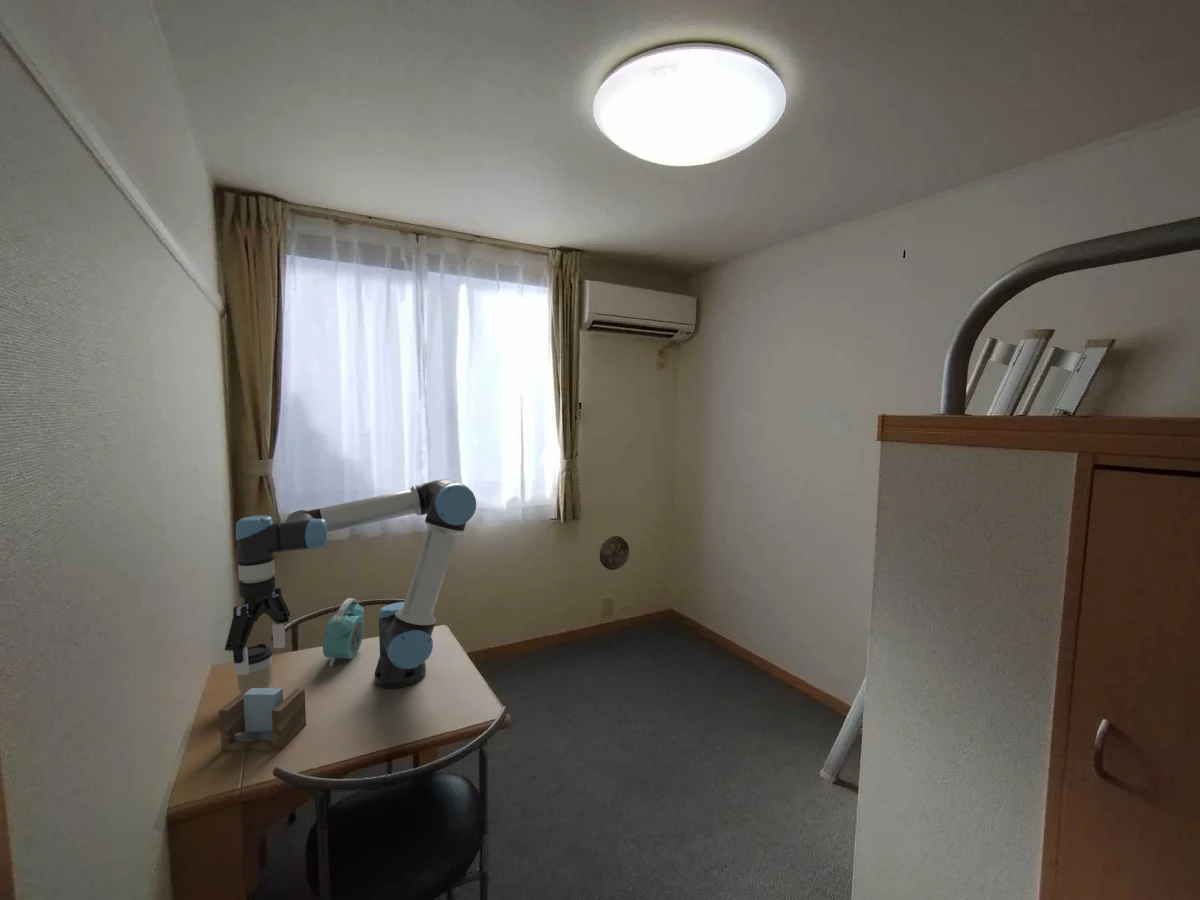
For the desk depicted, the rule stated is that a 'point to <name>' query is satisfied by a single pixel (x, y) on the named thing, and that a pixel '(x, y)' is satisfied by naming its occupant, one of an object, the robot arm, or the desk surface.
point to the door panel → (260, 708)
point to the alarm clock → (344, 632)
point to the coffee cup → (257, 668)
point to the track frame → (285, 727)
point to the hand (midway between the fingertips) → (261, 660)
